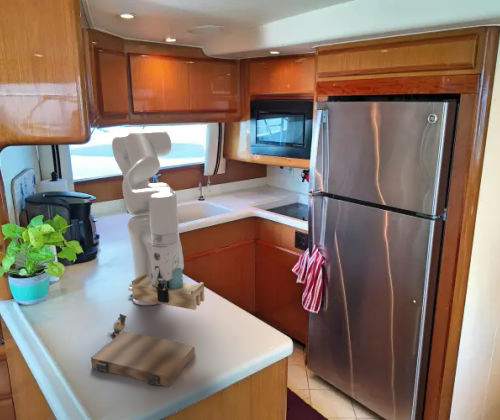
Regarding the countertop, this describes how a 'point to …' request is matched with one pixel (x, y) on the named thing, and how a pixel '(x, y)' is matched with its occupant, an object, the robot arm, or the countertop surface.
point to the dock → (144, 358)
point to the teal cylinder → (176, 280)
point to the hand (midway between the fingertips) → (169, 295)
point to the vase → (118, 325)
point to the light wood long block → (169, 293)
